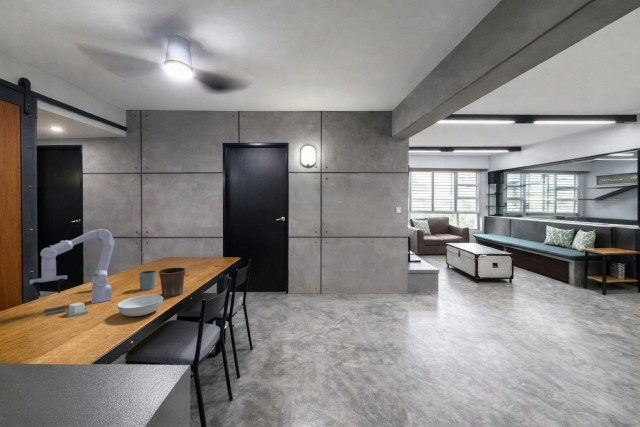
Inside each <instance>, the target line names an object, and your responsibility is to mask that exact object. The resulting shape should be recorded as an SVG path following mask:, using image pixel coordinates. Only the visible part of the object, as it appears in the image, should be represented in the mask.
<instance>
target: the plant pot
mask: <svg viewBox="0 0 640 427" xmlns="http://www.w3.org/2000/svg"><path fill="white" fill-rule="evenodd" d="M186 270H187V268H185V267H169V268H168V267H167V268H162V269H159V270H158V272H157V273H158V277H159V280H160V285H161V286H160V287H161V296H162V297H163V298H164V297H165V298H172V297H178V296H180V295H183V292H184V281H185V275H186Z"/></svg>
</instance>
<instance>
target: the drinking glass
mask: <svg viewBox="0 0 640 427" xmlns="http://www.w3.org/2000/svg"><path fill="white" fill-rule="evenodd" d="M138 276H139V290H140V291H151V290H154V289H155V286H156V284H155V283H156V276H157V271H156V270H155V269H154V270H153V269H152V270H151V269H150V270H149V269H148V270H142V271H139V272H138Z"/></svg>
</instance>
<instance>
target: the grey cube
mask: <svg viewBox="0 0 640 427" xmlns="http://www.w3.org/2000/svg"><path fill="white" fill-rule="evenodd" d="M85 307H86V306H85V302H80V301H79V302H74V303H70V304H68V310H69V313H68V315H69V314H74V313H79V312H84V311H86V310H85Z"/></svg>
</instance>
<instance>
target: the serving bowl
mask: <svg viewBox="0 0 640 427" xmlns="http://www.w3.org/2000/svg"><path fill="white" fill-rule="evenodd" d="M163 301H164V296H162V295H159V294H143V295H138V296H137V295H136V296H133V297H129V298H125V299H123V300H122V301H121V300H120V302H118V303H117V310H118V311H119V313H120V314H122V315H123V316H126V317H142V316H146V315H149V314H151V313H154V312H155V311H157V310H158V309H159V308H160V307H161V306H162V304H163V303H164V302H163Z"/></svg>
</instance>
